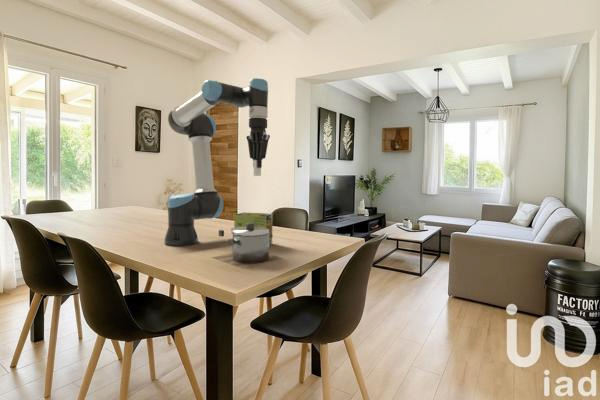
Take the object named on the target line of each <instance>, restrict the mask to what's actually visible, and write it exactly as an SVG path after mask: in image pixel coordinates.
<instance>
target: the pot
mask: <svg viewBox="0 0 600 400" xmlns="http://www.w3.org/2000/svg"><path fill="white" fill-rule="evenodd" d="M254 227H257V226H254ZM218 237H220V238H221V237H225V231H224V230H222V229H219V230H218ZM271 237H272V238H273V233H272V234H267V235H264V236H255V237H245V236H237V235H233V234H232V238H228V239H227V243H228V244H231V245H232V253H233V261H235V262H238V263H245V264H254V263H262V262H265V261H268V260H269V254H270V245H269V238H271ZM262 264H263V263H262Z"/></svg>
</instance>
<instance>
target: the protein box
mask: <svg viewBox="0 0 600 400" xmlns="http://www.w3.org/2000/svg"><path fill="white" fill-rule="evenodd" d="M273 216H274V213H271V212H270V213H268V212H267V213H266V212H265V213H264V212H263V213H262V212H239V213H236V214H234V222H233V223H234V225H233V226H234V227H233V228H235V227H243V226H245V227H246V225H247V223H254V226H257V227H263V228H267V229H269V234H273V220H274V218H273ZM272 244H273V237H271V238H269V246H271V245H272Z"/></svg>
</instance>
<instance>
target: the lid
mask: <svg viewBox="0 0 600 400" xmlns="http://www.w3.org/2000/svg"><path fill="white" fill-rule="evenodd" d="M230 229H231V230H230V231H231V234H232V236H233V235H237V236H245V237H255V236H264V235H267V234H269V229H267V228H263V227H254V223H247V225H246V227H245V226H243V227H235V228H234V227H231V228H230Z"/></svg>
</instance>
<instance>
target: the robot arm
mask: <svg viewBox="0 0 600 400" xmlns="http://www.w3.org/2000/svg"><path fill="white" fill-rule="evenodd" d="M268 96H269V86H268V80H266V79H264V78H255V77H254V78H251V79H250V80H249V84H248V86H247V87H242V86H236V85H232V84H228V83H224V82H219V81H217V80H210V79H209V80H208V79H206V80H205V81H204V82H203V84H202V86H201V91H200V92H198V94H196V95H195V96H193V97H192V98H190V99H189V100H188V101H186V102H185V103H184V104H182V105H178V106H175V107H174V108H172V109H171V110H170V112H169V113H168V116H167V121H168V125H169V127H170V128H171V129H172V130H173V131H174V132H175V133H177V134H180V135H186V136H188V141H189V142H190V143H192V156H193V166H194V176H195V177H194V179H195V188H196V190H195V191H194V192H193V193H189V192H188V193H187V192H186V193H178V194H174V195H171V196H169V198H168V200H167V216H168V217H167V219H168V220H167V221H168V222H167V223H168V224H167V225H168V226H167V230H166V233H165V236H164V245H167V246H176V247H177V246H191V245H194V244H197V243H198V242H199V237H198V234H197V231H196V228H195V220H206V219H215V218H218V217H219V216H220V215H221V214H222V212H223V209H224V199H223V197H222V195H219V193H218V190H217V189H215V188H214V187H215V185H214V175H213V166H212V165H213V164H212V155H211V154H212V153H211V141H212V140H213V137H214V136H215V135H216V131H217V125H216V121H215V119H214V118H213V117H212V116H211V115H209V114H207V111H210V110H211V109H212V108H214V107H215V106H216V105H218V104H220V103H222V104H223V103H224V104H229V105H232V106H233V107H235V108H242V109H243V108H246V107H249V109H248V111H249V112H248V117H249V119H248V128H250V131H249V132H250V133H249V135H246V138H245V139H246V140H247V145H248V153H249V159H252V162H253V164H252V166H253V177H256V176H257V177H261V176H262V167H263V166H262V163H263V162H262V161H263V159H266V155H267V150H268V146H269V140H270V138H271V136H270V134H267V131H266V129H267V128H268V119H267V118H268V117H269V115H268V113H269V112H268V103H269V102H268V101H269V100H268V99H269V97H268Z"/></svg>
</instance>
